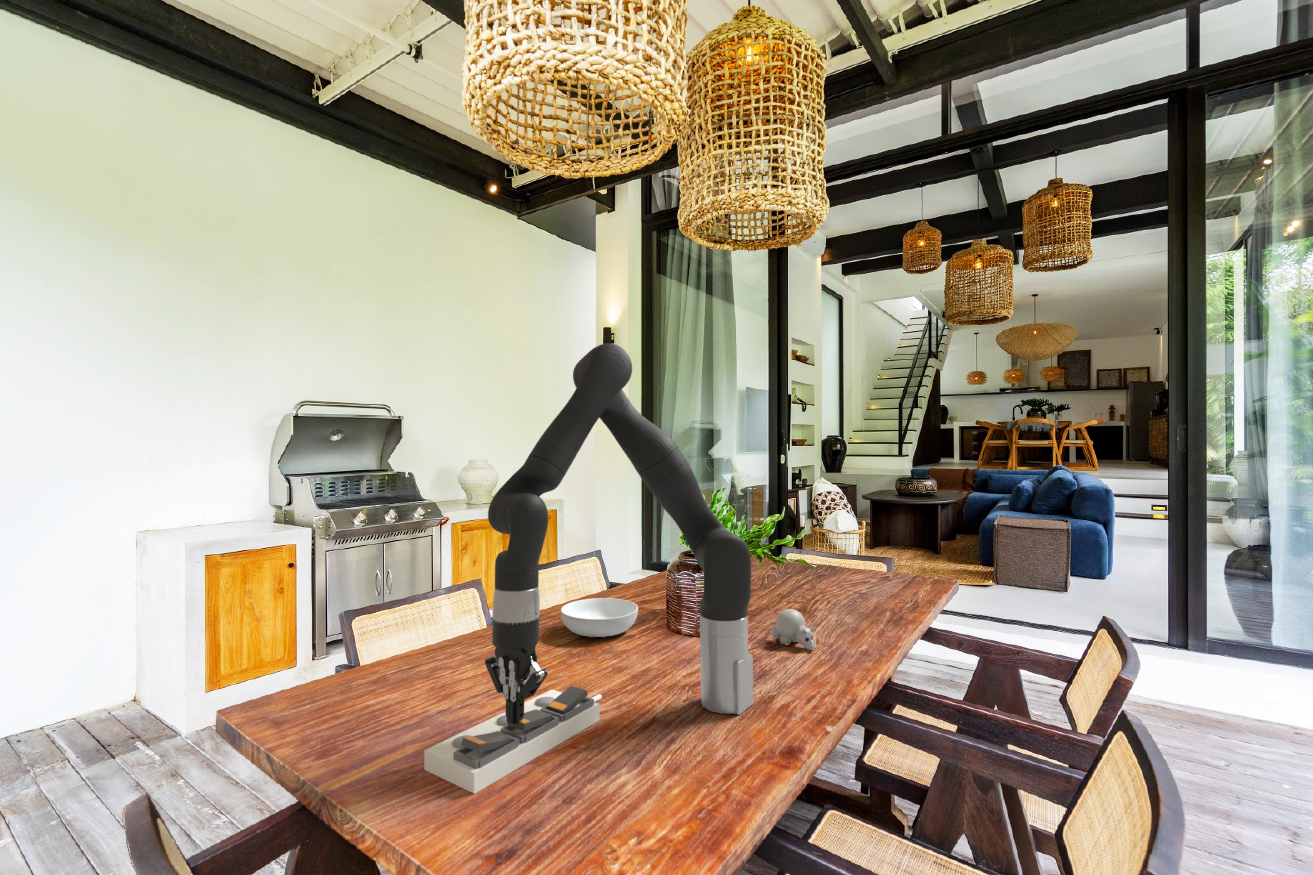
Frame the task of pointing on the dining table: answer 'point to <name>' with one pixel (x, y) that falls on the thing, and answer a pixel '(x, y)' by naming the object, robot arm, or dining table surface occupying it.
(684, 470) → the robot arm
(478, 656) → the dining table surface
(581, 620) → the serving bowl
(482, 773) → the power strip
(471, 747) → the rocker far end
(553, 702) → the rocker near cord
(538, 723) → the middle rocker
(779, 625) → the chubby cartoon animal
